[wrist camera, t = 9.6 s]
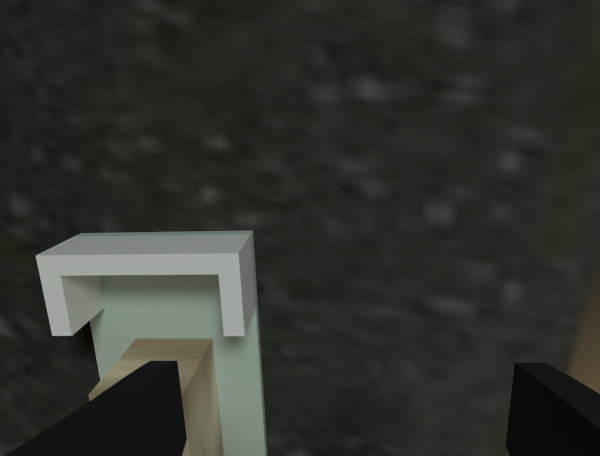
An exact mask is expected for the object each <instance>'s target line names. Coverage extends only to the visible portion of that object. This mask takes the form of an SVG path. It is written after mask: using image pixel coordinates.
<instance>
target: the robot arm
mask: <svg viewBox="0 0 600 456" xmlns="http://www.w3.org/2000/svg"><path fill="white" fill-rule="evenodd" d="M186 440H187V435H186V427H185V419H184V411H183V403H182V395H181V386H180V378H179V370H178V362H177V361H149V362H147V363H146V364H144V365H142V366H141V367H139V368H137V369H136V370H134V371H133V372H131V373H130V374H128V375H127V376H125V377H124V378H123V379H121V380H120V381H118V382H117V383H115V384H114V385H112V386H111V387H110V388H108V389H107V390H105V391H104V392H102V393H101V394H99V395H98V396H96V397H95V398H93V399H92V400H91V401H89V402H88V403H86V404H85V405H83V406H82V407H80V408H79V409H77V410H76V411H74V412H73V413H71V414H70V415H69V416H67V417H66V418H64V419H62V420H61V421H59V422H58V423H56V424H54V425H53V426H51V427H50V428H48V429H47V430H45V431H43V432H42V433H40V434H39V435H37V436H36V437H34V438H32V439H31V440H29V441H28V442H26V443H25V444H23V445H21V446H20V447H18V448H17V449H15V450H14V451H12V452H10V453H8V454H7V455H5V456H182V454H183V451H184V447H185V444H186ZM506 447H507V450H508V452H509V455H510V456H600V394H599V393H597V392H595V391H594V390H592V389H590V388H589V387H587V386H585V385H584V384H582V383H580V382H579V381H577V380H575V379H574V378H572V377H570V376H568V375H567V374H565V373H563V372H561V371H560V370H558V369H556V368H554V367H552V366H550V365H548V364H546V363H515V367H514V376H513V385H512V394H511V403H510V412H509V421H508V430H507V439H506Z"/></svg>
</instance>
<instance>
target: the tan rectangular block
mask: <svg viewBox="0 0 600 456" xmlns="http://www.w3.org/2000/svg"><path fill="white" fill-rule="evenodd" d="M149 361H177V362H178V370H179V378H180V386H181V395H182V403H183V411H184V419H185V427H186V435H187V440H186V444H185V447H184V451H183V454H182V456H224V452H223V441H222V431H221V421H220V411H219V401H218V390H217V380H216V370H215V360H214V350H213V339H212V338H136V339H135V341H134V342H133V343H132V344H131V345H130V346H129V348H128V349H127V350H126V351H125V352H124V354H123V355H122V356H121V357H120V358H119V359H118V361H117V362H116V363H115V364H114V365H113V367H112V368H111V369H110V370H109V371H108V372H107V374H106V375H105V376H104V377H103V378H102V380H101V381H100V382H99V383H98V384H97V385H96V387H95V388H94V389H93V390H92V391H91V393H90V394H89V400H90V401H91V400H92V399H93V398H95V397H96V396H98V395H99V394H101V393H102V392H104V391H105V390H107V389H108V388H110V387H111V386H112V385H114V384H115V383H117V382H118V381H120V380H121V379H123V378H124V377H125V376H127V375H128V374H130V373H131V372H133V371H134V370H136V369H137V368H139V367H141V366H142V365H144V364H146V363H147V362H149Z"/></svg>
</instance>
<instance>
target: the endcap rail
mask: <svg viewBox="0 0 600 456" xmlns="http://www.w3.org/2000/svg"><path fill="white" fill-rule="evenodd" d="M36 259H37V264H38V269H39V273H40V278H41V283H42V288H43V293H44V298H45V302H46V307H47V312H48V317H49V322H50V327H51V331H52V336H72V335H73V334H75V333H76V332H77V331H78V330H79V329H80V328H81V327H83V326H84V325H85V324H86V323H87V322H88V321H89V320H90V325H91V331H92V337H93V342H94V348H95V353H96V359H97V364H98V370H99V375H100V381H101V380H102V378H103V377H104V376H105V375H106V374H107V372H108V371H109V370H110V369H111V368H112V367H113V365H114V364H115V363H116V362H117V361H118V359H119V358H120V357H121V356H122V355H123V354H124V352H125V351H126V350H127V349H128V348H129V346H130V345H131V344H132V343H133V342H134V341H135V339H136V338H212V339H213V350H214V360H215V370H216V380H217V390H218V401H219V411H220V421H221V431H222V441H223V452H224V456H268V455H267V439H266V424H265V409H264V393H263V378H262V363H261V348H260V332H259V317H258V302H257V286H256V271H255V256H254V240H253V231H196V232H131V233H81V234H79V235H77V236H75V237H73V238H70V239H68V240H66V241H64V242H62V243H60V244H58V245H56V246H54V247H52V248H50V249H48V250H46V251H44V252H42V253H40V254H38V255H36Z"/></svg>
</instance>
